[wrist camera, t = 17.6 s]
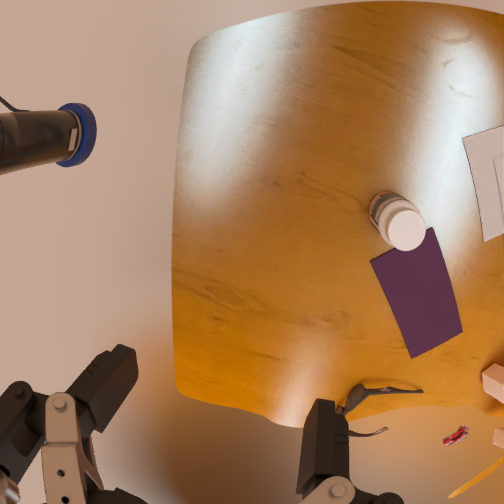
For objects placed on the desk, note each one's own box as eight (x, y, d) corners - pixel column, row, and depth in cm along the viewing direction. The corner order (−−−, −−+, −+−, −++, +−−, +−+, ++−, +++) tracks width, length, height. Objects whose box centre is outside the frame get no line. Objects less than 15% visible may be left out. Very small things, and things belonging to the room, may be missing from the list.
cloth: (369, 261, 40) (370, 262, 40) (431, 226, 37) (432, 227, 36) (411, 357, 45) (411, 359, 45) (461, 330, 41) (462, 332, 41)
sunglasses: (360, 371, 48) (365, 390, 43) (424, 380, 48) (431, 397, 44) (322, 419, 54) (323, 437, 50) (383, 425, 55) (387, 441, 50)
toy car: (441, 439, 53) (443, 448, 50) (464, 423, 49) (466, 432, 46) (446, 441, 53) (448, 450, 50) (469, 425, 49) (472, 434, 47)
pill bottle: (410, 221, 37) (435, 244, 28) (375, 236, 39) (392, 263, 30) (397, 184, 36) (422, 197, 27) (361, 199, 38) (376, 217, 29)
